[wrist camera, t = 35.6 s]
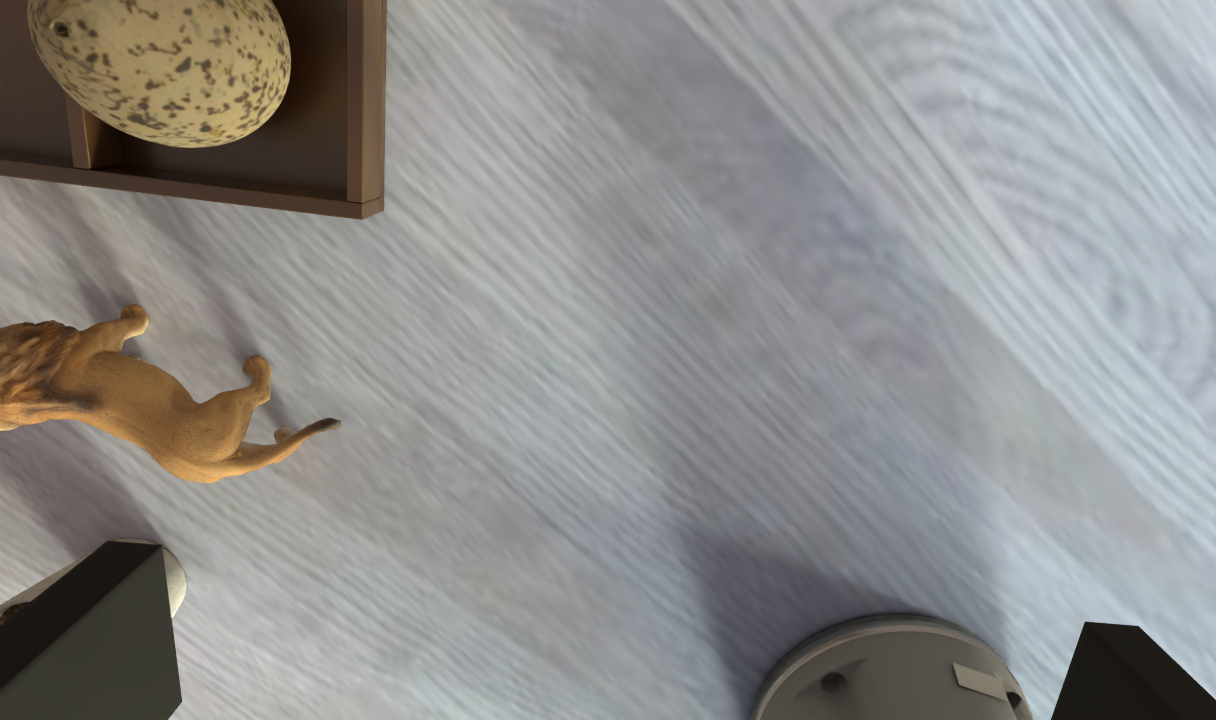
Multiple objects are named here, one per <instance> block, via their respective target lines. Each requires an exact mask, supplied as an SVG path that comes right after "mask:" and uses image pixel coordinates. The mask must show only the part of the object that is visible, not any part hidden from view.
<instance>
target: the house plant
mask: <svg viewBox="0 0 1216 720" xmlns="http://www.w3.org/2000/svg"><path fill="white" fill-rule="evenodd" d="M112 541H119V542H131V543H144V544H154V543H152V542H150V541H148V540H141V539H118V540H112ZM156 545H157V544H156ZM96 550H97V549H96ZM94 551H95V550H94ZM94 551H92V552H91V553H93V552H94ZM91 553H89V554H87V555H85V556H84V557H82V558H80V559H79V560H77V561H75V562H73V563H72V564H70V565H68V566H67V567H65V568H63V569H61V570H60V571H58V572H56V573H54V574H53V575H51V576H49V577H48V578H46V579H44V580H42V581H41V582H39V583H37V584H35V585H34V586H32V587H30V588H29V589H27V590H25V591H23V592H22V593H20V594H18V595H16V596H15V597H13V598H11V599H10V600H8V601H6V602H4V603H3V604H1V605H0V625H2V624H3V623H4V622H5V621H7V620H8V619H9V618H10V617H12V616H13V615H14V614H16V613H17V612H18V611H19V610H21V609H22V608H23V607H24V606H26V605H27V604H28V603H29V602H31V601H32V600H33V599H35V598H36V597H37V596H38V595H40V594H41V593H42V592H43V591H45V590H46V589H47V588H48V587H50V586H51V585H52V584H54V583H55V582H56V581H57V580H59V579H60V578H61V577H62V576H64V575H65V574H66V573H67V572H69V571H70V570H71V569H72V568H74V567H75V566H76V565H78V564H79V563H80V562H81V561H83V560H84V559H85V558H86V557H88V556H89V555H90V554H91ZM163 555H164V563H165V571H166V579H167V587H168V595H169V602H170V610H171V618H173V616H174V614H175V613H176V611H177V609H178V608H179V606H180V604H181V603H182V601H183V599H184V596H185V594H186V587H187V582H186V578H185V574H184V571H183V569H182V568H181V566H180V564H179V562H178V561H177V560H176V559H175V558H174V557H173V556H172V555H171V554H170V553H169V552H168V551H166V550H165V549H163Z"/></svg>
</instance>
